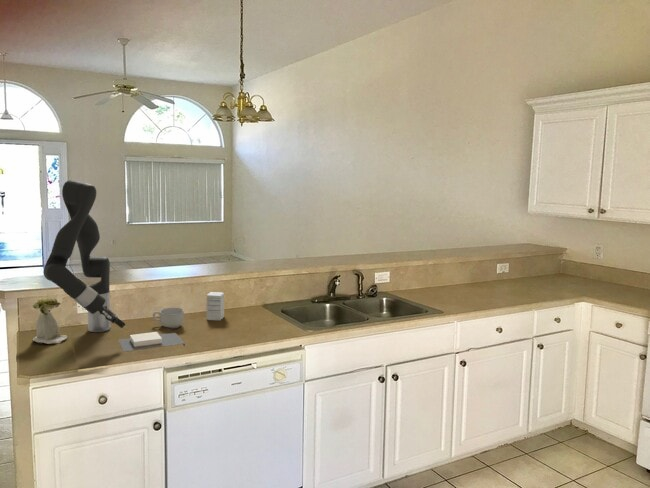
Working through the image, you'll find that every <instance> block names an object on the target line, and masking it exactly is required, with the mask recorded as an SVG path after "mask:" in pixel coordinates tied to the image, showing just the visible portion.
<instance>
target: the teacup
mask: <svg viewBox="0 0 650 488" xmlns="http://www.w3.org/2000/svg"><path fill="white" fill-rule="evenodd" d="M184 313H185V309H183V308H181V307H174V306H173V307H172V306H170V307H165V308H162V309H161V310H160V311H159V310H155V311H153V313H152V318H153V319H154V320H155V321H157V322H158V323H159V324H161V325H162V326H163V327H164V328H168V329H170V330H171V329H177V328H179V327H180V326H182V324H183V323H184V320H185V319H184V317H185V316H184V315H185V314H184ZM156 314H158V316H159V317H160V318H159V317H158V318H157V316H156Z"/></svg>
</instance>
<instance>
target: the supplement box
mask: <svg viewBox="0 0 650 488" xmlns="http://www.w3.org/2000/svg"><path fill="white" fill-rule="evenodd" d="M224 317H225V292H221V291H220V292H219V291H216V292H215V291H211V292H208V293H207V294H206V321H222V320H223V318H224ZM221 319H222V320H221Z"/></svg>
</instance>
